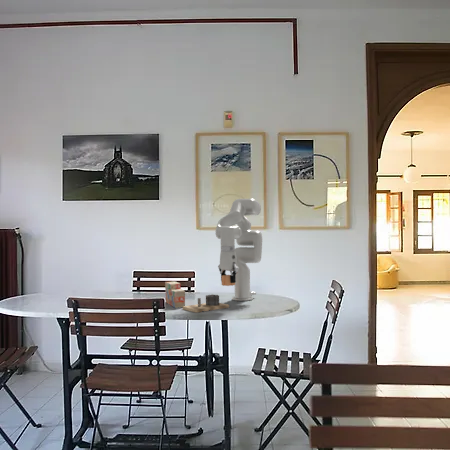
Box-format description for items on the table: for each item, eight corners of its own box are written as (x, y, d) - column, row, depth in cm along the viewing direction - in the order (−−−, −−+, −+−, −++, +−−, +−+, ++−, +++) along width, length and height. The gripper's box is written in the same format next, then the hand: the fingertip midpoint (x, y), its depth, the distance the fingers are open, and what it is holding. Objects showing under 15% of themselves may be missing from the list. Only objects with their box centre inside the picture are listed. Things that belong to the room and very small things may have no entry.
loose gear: (229, 283, 265) (229, 274, 264) (237, 284, 259) (237, 275, 259) (218, 284, 260) (218, 275, 260) (227, 286, 254) (227, 276, 254)
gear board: (214, 304, 275) (214, 292, 275) (229, 307, 265) (228, 294, 265) (182, 309, 262) (182, 296, 262) (196, 312, 252) (196, 299, 251)
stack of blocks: (185, 307, 268) (185, 285, 268) (174, 308, 266) (174, 286, 266) (175, 301, 288) (175, 281, 288) (165, 302, 286) (165, 281, 286)
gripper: (243, 249, 254) (244, 282, 255) (223, 248, 268) (223, 279, 269) (232, 250, 250) (233, 284, 250) (212, 248, 263) (213, 281, 264)
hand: (228, 281), depth 259 cm, fingers closed on loose gear, 7 cm apart
